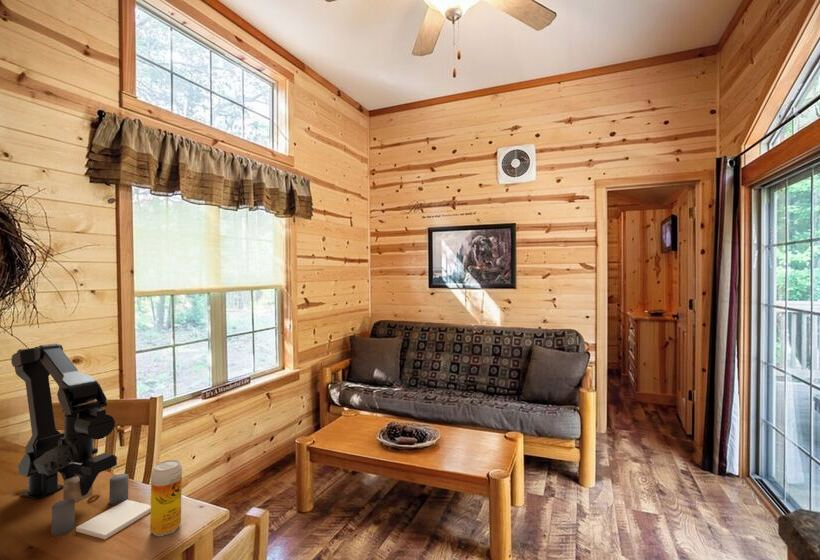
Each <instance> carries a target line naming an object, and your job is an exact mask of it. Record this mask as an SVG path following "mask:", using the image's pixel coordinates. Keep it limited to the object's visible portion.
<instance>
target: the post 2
mask: <svg viewBox="0 0 820 560" xmlns="http://www.w3.org/2000/svg"><path fill="white" fill-rule="evenodd" d="M129 478H130V477H129V474H128V473H120V474H115V475H113V476H112V477H110V478H109V495H108V496H109V497H108V498H109V499H108V500H109V502H108V503H109V505H113V506H114V505H115V506H116V505H118V504H120V503H122V502H124V501H126V500H129V481H130V480H129Z"/></svg>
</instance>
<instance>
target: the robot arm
mask: <svg viewBox="0 0 820 560" xmlns="http://www.w3.org/2000/svg"><path fill="white" fill-rule="evenodd" d="M10 361H11V365H12V367H13V368H14V371H15V374H16V376H18V377H19V378H20V379H22V381H24V382H25V390H26V398H27V405H28V413H29V420H30V422H29V423H30V428H31V437H30V439H29V440H28V442H27V444H26V445H25V448H24V449H25V454H24V455H23V457H22V458H21V460H20V462H19V463H18V464H17V466H18V467H17V468H18V474H19V475H21V476H23V477H25V478H27V490H26V491H23V492H21V493H20V496H21V497H26V498H29V499H34V500H39V499H41V498H43V497H45V496H47V495H50V494H52V493H55V492H58V491H59V490H62V489H64V484H59V474H61V477H62V479H63V481H64V480H66V479H68V478H71V477H73V476H75V475H77V476H79V479H80V489H81V495H82V496H85V495H87V494H88V492H89V490H90V488H91V486H92V487H93V485H94V482H95V480H96V479H97V477H98V476H99V474H100V473H102V472H105V471H107V470H109V469H112V468H114V467H116V466H117V465H118V456H117V455H115V454H113V453H112V454H111V453H106V452H102V453H101V454H98V455H95V454H97V453H98V452H99V449H98V448H97V447H94V446H95V445H94V442H95V441H94V440H102V439H104V438H107V436H109V435H110V434H111V433H112V431H114V429H115V424H116V420H115V419H114V417H113V416H112V415H111V414H108V413H107V410H106V409H105V408H106V407H107V406H108V403H107V400H108V399H107V397H106V394H105V393H104V391H103V388H102V387H101V385H100V383H99V382H98V381H97V380H96V378H94V377H93V376H92V375H89V374H86V373H83V372H80V371H79V369H78V368H77V367H76V366H75V365H74V362H72V360H71V359H70V358H69V357H68V356H67V354H66V353H65V351H64V347H63V346H62V344H60V343H59V344H58V343H49V344H40V345H38V346H35V347H31V348H21V349H18V350H16V352H15V353H13V354H12V355H11V360H10ZM50 376H51V378H52V379H53V381H55V383H56V384H57V386H58V391H57V394H56V396H57V399H58V402H59V404H60V406H61V407H62V409H61V413H64V418H63V419H64V421H63V422H64V423H63V424H64V427H63V432H60V431H59V430H58V429H57V427H56V420H55V413H54V407H53V398H52V391H51V385H50V378H49V377H50ZM104 407H105V408H104ZM93 455H94V456H93Z"/></svg>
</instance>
